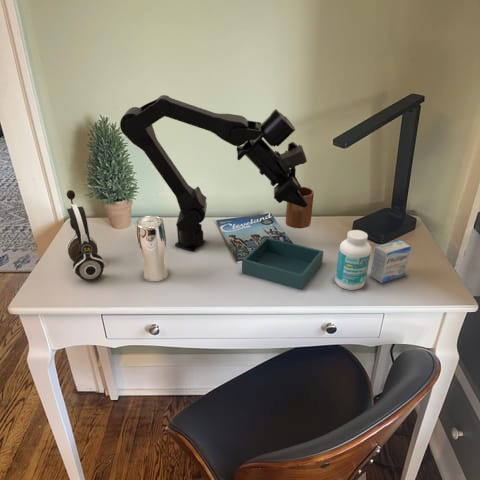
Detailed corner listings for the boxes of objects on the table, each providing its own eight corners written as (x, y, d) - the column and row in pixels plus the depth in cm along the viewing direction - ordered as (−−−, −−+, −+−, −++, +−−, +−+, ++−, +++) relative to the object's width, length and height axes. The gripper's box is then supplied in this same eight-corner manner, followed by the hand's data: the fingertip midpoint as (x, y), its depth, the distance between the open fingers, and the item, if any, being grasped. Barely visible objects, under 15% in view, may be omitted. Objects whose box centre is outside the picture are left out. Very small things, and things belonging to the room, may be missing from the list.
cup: (285, 228, 133) (287, 196, 128) (285, 217, 138) (287, 186, 133) (311, 229, 133) (314, 197, 127) (309, 217, 138) (313, 186, 133)
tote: (241, 273, 127) (241, 260, 125) (265, 250, 137) (266, 237, 135) (301, 290, 121) (302, 276, 119) (322, 264, 131) (323, 250, 129)
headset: (68, 257, 134) (51, 186, 122) (97, 252, 137) (83, 182, 125) (78, 289, 122) (60, 214, 110) (110, 282, 124) (96, 208, 112)
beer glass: (173, 270, 129) (168, 217, 120) (161, 284, 123) (155, 229, 114) (149, 266, 130) (143, 213, 121) (137, 279, 125) (128, 225, 116)
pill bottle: (339, 292, 120) (347, 243, 112) (330, 276, 126) (337, 228, 118) (369, 289, 121) (378, 240, 113) (358, 274, 127) (367, 226, 119)
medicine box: (380, 284, 123) (387, 253, 118) (369, 275, 126) (374, 245, 121) (405, 276, 126) (412, 246, 121) (393, 268, 129) (399, 238, 124)
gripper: (291, 148, 114) (333, 194, 121) (286, 125, 129) (324, 167, 135) (256, 180, 119) (298, 223, 125) (255, 154, 134) (293, 194, 140)
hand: (305, 200), depth 131 cm, fingers closed on cup, 7 cm apart
